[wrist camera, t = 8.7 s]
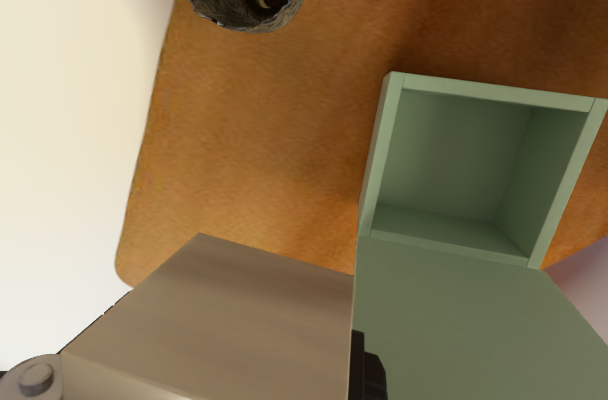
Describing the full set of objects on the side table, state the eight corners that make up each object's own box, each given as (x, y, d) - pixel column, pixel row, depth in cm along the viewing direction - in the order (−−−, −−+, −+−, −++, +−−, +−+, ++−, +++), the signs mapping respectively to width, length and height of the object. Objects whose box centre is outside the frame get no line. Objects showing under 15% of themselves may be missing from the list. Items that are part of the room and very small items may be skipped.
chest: (383, 76, 25) (391, 70, 18) (544, 98, 24) (611, 99, 17) (358, 205, 28) (356, 237, 22) (496, 230, 27) (538, 271, 21)
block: (198, 231, 10) (57, 351, 5) (354, 275, 10) (346, 447, 5) (185, 351, 12) (71, 520, 7) (317, 393, 11) (285, 603, 7)
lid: (348, 398, 11) (344, 414, 11) (735, 496, 10) (717, 510, 10) (357, 234, 21) (355, 245, 22) (544, 270, 20) (539, 281, 20)
